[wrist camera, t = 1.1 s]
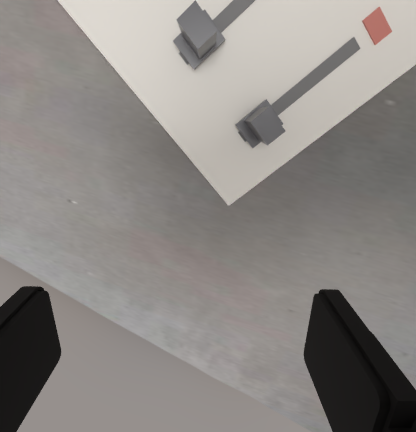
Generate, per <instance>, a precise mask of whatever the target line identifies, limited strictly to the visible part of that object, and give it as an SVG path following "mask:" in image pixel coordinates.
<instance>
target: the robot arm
mask: <svg viewBox="0 0 416 432" xmlns="http://www.w3.org/2000/svg"><path fill="white" fill-rule="evenodd" d="M60 356H61V347H60V343H59V339H58V334H57V329H56V325H55V320H54V315H53V311H52V306H51V302H50V297H49V294H48V292H47V291H44V289H43V288H42V287H32V286H29V287H28V286H26V287H22V288H20V289H19V290H18V291H17V292H16V293H15V294H14V295H12V296H11V297H10V298H9V299H8V300H7V301H6V302H5V303H4V304H3V305H2V306H1V307H0V432H16V431H17V430H18V428H19V426H20V425H21V423H22V421H23V420H24V418H25V416H26V415H27V413H28V411H29V410H30V408H31V406H32V405H33V403H34V401H35V400H36V398H37V396H38V395H39V393H40V391H41V390H42V388H43V386H44V385H45V383H46V381H47V380H48V378H49V376H50V375H51V373H52V371H53V370H54V368H55V366H56V365H57V363H58V361H59V359H60ZM304 360H305V363H306V366H307V368H308V371H309V373H310V376H311V378H312V381H313V383H314V386H315V388H316V391H317V393H318V396H319V399H320V401H321V404H322V406H323V409H324V411H325V414H326V416H327V419H328V421H329V424H330V426H331V429H332V431H333V432H416V390H415V388H414V387H413V386H412V384H411V383H410V382H409V380H408V379H407V378H406V377H405V375H404V374H403V373H402V371H401V370H400V369H399V367H398V366H397V365H396V363H395V362H394V361H393V359H392V358H391V357H390V355H389V354H388V353H387V352H386V350H385V349H384V348H383V346H382V345H381V344H380V342H379V341H378V340H377V338H376V337H375V336H374V335H373V334H372V332H371V331H369V329H368V328H367V327H366V325H365V324H364V323H363V321H362V320H361V319H360V317H359V316H358V315H357V314H356V312H355V311H354V310H353V308H352V307H351V306H350V304H349V303H348V302H347V300H346V299H345V298H344V296H343V295H342V294H341V292H340V291H339V290H326V289H322V290H320V291H319V294H315V295H314V298H313V304H312V309H311V315H310V320H309V326H308V332H307V337H306V343H305V348H304Z"/></svg>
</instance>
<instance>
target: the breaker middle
mask: <svg viewBox="0 0 416 432" xmlns="http://www.w3.org/2000/svg"><path fill="white" fill-rule="evenodd" d="M176 20H177V22H178V25H179V28H180V31H181V33H180V34H179V35H178V36H177V37H176V38H175V39H174V40H173V42H174V44H175V45H176V46H177V48H178V49H179V50H180V52H181V53H182V54H183V56H184V57H185V58H186V60H187V61H188V62H189V64H190V65H191V67H192V68H193V69H194V70H195V69H196V68H197V67H198V66H199V65H200V64H201V63H202V62H203V61H204V60H206V59H207V58H208V57H209V56H210V55H211V54H212V53H213V52H214V51H215V50H216V49H217V48H218V47H219V46H221V45H222V44H223V43H224V42H225V38H224V36H223V35H222V34H221V32H220V31H219V29H218V28H217V26H216V25H215V23H214V22H213V20H212V19H211V17H210V16H209V15H208V13H207V12H206V10H205V9H204V10H202V9H201V7H200V6H199V5H198V3H197V2H196V0H195V1H194V2H193V3H192V4H191V5H190V6H189V7H188V8H187V9H186V10H185V11H184V12H183V13H182V14H181V15H180V16H179V17H178V18H177V19H176Z"/></svg>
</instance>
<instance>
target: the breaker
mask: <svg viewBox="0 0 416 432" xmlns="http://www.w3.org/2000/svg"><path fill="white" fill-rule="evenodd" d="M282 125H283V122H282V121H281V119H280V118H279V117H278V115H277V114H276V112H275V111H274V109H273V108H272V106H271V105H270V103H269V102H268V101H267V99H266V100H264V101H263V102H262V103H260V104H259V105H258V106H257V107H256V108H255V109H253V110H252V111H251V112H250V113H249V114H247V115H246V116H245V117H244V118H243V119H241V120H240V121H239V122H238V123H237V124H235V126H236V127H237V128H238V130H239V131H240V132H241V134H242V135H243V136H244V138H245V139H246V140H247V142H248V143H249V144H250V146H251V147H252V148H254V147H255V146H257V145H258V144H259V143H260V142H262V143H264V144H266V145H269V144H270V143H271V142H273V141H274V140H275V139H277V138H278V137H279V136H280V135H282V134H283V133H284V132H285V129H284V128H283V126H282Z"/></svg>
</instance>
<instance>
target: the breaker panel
mask: <svg viewBox="0 0 416 432" xmlns="http://www.w3.org/2000/svg"><path fill="white" fill-rule="evenodd" d="M58 1H59V3H60V4H61V5H62V6H63V8H64V9H65V10H66V11H67V12H68V14H69V15H70V16H71V17H72V18H73V20H74V21H75V22H76V23H77V24H78V26H79V27H80V28H81V29H82V30H83V32H84V33H85V34H86V35H87V36H88V38H89V39H90V40H91V41H92V42H93V44H94V45H95V46H96V47H97V48H98V50H99V51H100V52H101V53H102V54H103V56H104V57H105V58H106V59H107V60H108V62H109V63H110V64H111V65H112V66H113V68H114V69H115V70H116V71H117V72H118V74H119V75H120V76H121V77H122V78H123V80H124V81H125V82H126V83H127V84H128V86H129V87H130V88H131V89H132V90H133V92H134V93H135V94H136V95H137V96H138V98H139V99H140V100H141V101H142V102H143V104H144V105H145V106H146V107H147V108H148V110H149V111H150V112H151V113H152V114H153V116H154V117H155V118H156V119H157V120H158V122H159V123H160V124H161V125H162V126H163V128H164V129H165V130H166V131H167V132H168V134H169V135H170V136H171V137H172V138H173V140H174V141H175V142H176V143H177V144H178V146H179V147H180V148H181V149H182V150H183V152H184V153H185V154H186V155H187V156H188V158H189V159H190V160H191V161H192V162H193V164H194V165H195V166H196V167H197V168H198V170H199V171H200V172H201V173H202V174H203V176H204V177H205V178H206V179H207V180H208V182H209V183H210V184H211V185H212V186H213V188H214V189H215V190H216V191H217V192H218V194H219V195H220V196H221V197H222V198H223V200H224V201H225V202H226V203H227V204H228V206H229V205H231V204H232V203H233V202H235V201H236V200H237V199H239V198H240V197H241V196H242V195H244V194H245V193H246V192H248V191H249V190H250V189H252V188H253V187H254V186H256V185H257V184H258V183H260V182H261V181H262V180H264V179H265V178H266V177H268V176H269V175H270V174H272V173H273V172H274V171H276V170H277V169H278V168H279V167H281V166H282V165H283V164H285V163H286V162H287V161H289V160H290V159H291V158H293V157H294V156H295V155H297V154H298V153H299V152H301V151H302V150H303V149H305V148H306V147H307V146H309V145H310V144H311V143H312V142H314V141H315V140H316V139H318V138H319V137H320V136H322V135H323V134H324V133H326V132H327V131H328V130H330V129H331V128H332V127H334V126H335V125H336V124H338V123H339V122H340V121H342V120H343V119H344V118H346V117H347V116H348V115H349V114H351V113H352V112H353V111H355V110H356V109H357V108H359V107H360V106H361V105H363V104H364V103H365V102H367V101H368V100H369V99H371V98H372V97H373V96H375V95H376V94H377V93H379V92H380V91H381V90H382V89H384V88H385V87H386V86H388V85H389V84H390V83H392V82H393V81H394V80H396V79H397V78H398V77H400V76H401V75H402V74H404V73H405V72H406V71H408V70H409V69H410V68H412V67H413V66H414V65H416V0H196V2H197V3H198V5H199V6H200V7H201V9H202V10H204V9H205V10H206V12H207V13H208V15H209V16H210V17H211V19H212V20H213V22H214V23H215V25H216V26H217V28H218V29H219V31H220V32H221V34H222V35H223V36H224V38H225V42H224V43H223V44H222V45H221V46H219V47H218V48H217V49H216V50H215V51H214V52H213V53H212V54H211V55H210V56H209V57H208V58H207V59H206V60H204V61H203V62H202V63H201V64H200V65H199V66H198V67H197V68H196V69H195V70H194V69H193V68H192V67H191V65H190V64H189V62H188V61H187V60H186V58H185V57H184V56H183V54H182V53H181V52H180V50H179V49H178V48H177V46H176V45H175V44H174V42H173V40H174V39H175V38H176V37H177V36H178V35H179V34H180V33H181V31H180V28H179V25H178V22H177V20H176V19H177V18H178V17H179V16H180V15H181V14H182V13H183V12H184V11H185V10H186V9H187V8H188V7H189V6H190V5H191V4H192V3H193V2H194V1H195V0H58ZM266 99H267V101H268V102H269V103H270V105H271V106H272V108H273V109H274V111H275V112H276V114H277V115H278V117H279V118H280V119H281V121H282V122H283V125H282V126H283V128H284V129H285V132H284V133H283V134H282V135H280V136H279V137H278V138H277V139H275V140H274V141H273V142H271V143H270V144H269V145H266V144H264V143H262V142H260V143H259V144H258V145H257V146H255V147H254V148H252V147H251V146H250V144H249V143H248V142H247V140H246V139H245V138H244V136H243V135H242V134H241V132H240V131H239V130H238V128H237V127H236V126H235V124H237V123H238V122H239V121H240V120H241V119H243V118H244V117H245V116H246V115H247V114H249V113H250V112H251V111H252V110H253V109H255V108H256V107H257V106H258V105H259V104H260V103H262V102H263V101H264V100H266Z"/></svg>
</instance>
